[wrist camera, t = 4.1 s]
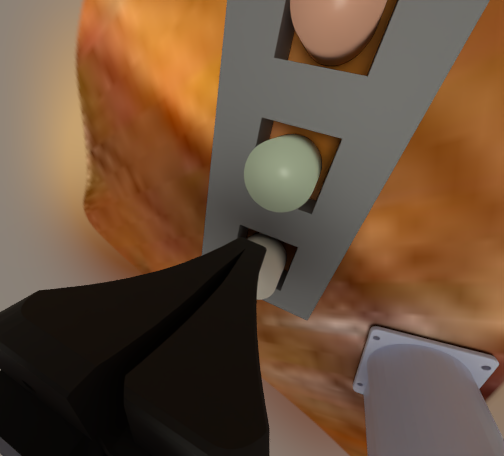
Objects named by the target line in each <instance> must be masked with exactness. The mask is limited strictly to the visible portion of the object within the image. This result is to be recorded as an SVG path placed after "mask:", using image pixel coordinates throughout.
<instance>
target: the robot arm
mask: <svg viewBox="0 0 504 456" xmlns="http://www.w3.org/2000/svg"><path fill="white" fill-rule="evenodd" d="M266 251H267V249H266V247H264V246H262V245H259V244H257V243H255V242H252V241H250V240H248V239H245V238H243V237H239V238H237V239H235V240H233V241H231V242H229V243H227V244H225V245H223V246H221V247H219V248H217V249H215V250H213V251H211V252H209V253H207V254H204V255H202V256H199V257H197V258H195V259H192V260H190V261H187V262H184V263H182V264H179V265H176V266H173V267H170V268H166V269H163V270H160V271H156V272H152V273H148V274H144V275H139V276H135V277H131V278H126V279H121V280H116V281H110V282H104V283H98V284H92V285H84V286H76V287H67V288H58V289H50V290H39V291H37V292H35V293H33V294H32V295H30V296H28V297H26V298H25V299H23V300H21V301H19V302H18V303H16V304H14V305H12V306H10V307H9V308H7V309H5V310H3V311H1V312H0V369H1V371H0V453H1V454H2V455H3V456H269V424H268V418H267V412H266V406H265V399H264V393H263V387H262V379H261V371H260V363H259V351H258V340H257V321H256V303H257V286H258V278H259V272H260V269H261V266H262V263H263V260H264V257H265V254H266ZM498 366H499V363H498V361H497V359H496V358H495V357H494V356H492V355H489V354H485V353H481V352H477V351H473V350H469V349H465V348H461V347H457V346H453V345H449V344H445V343H441V342H437V341H434V340H430V339H426V338H422V337H418V336H414V335H410V334H406V333H402V332H398V331H394V330H390V329H386V328H382V327H378V326H373V327H371V329H370V332H369V335H368V338H367V341H366V344H365V347H364V351H363V354H362V357H361V360H360V363H359V366H358V369H357V373H356V376H355V379H354V382H353V390H354V391H355V392H357V393H360V394H363V395H364V406H365V421H366V435H367V450H368V456H504V439H503V437H502V435H501V433H500V431H499V429H498V427H497V425H496V423H495V421H494V419H493V417H492V415H491V413H490V411H489V409H488V406H487V404H486V402H485V400H484V398H483V396H482V394H481V392H480V390H479V389H480V388H481V386H482V385H483V384H484V383H485V381H486V380H487V379H488V378H489V377H490V375H491V374H492V373H493V372H494V371H495V369H496V368H497V367H498Z"/></svg>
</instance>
